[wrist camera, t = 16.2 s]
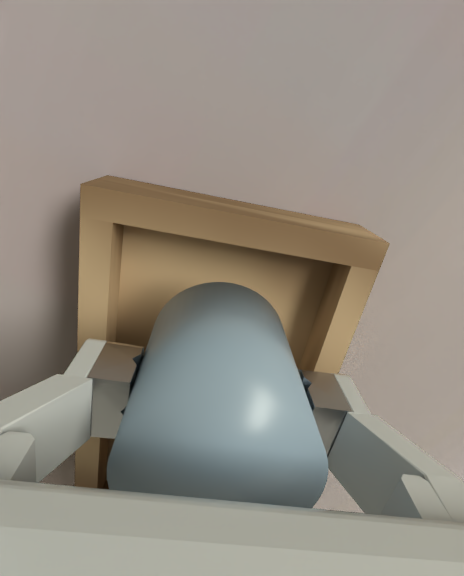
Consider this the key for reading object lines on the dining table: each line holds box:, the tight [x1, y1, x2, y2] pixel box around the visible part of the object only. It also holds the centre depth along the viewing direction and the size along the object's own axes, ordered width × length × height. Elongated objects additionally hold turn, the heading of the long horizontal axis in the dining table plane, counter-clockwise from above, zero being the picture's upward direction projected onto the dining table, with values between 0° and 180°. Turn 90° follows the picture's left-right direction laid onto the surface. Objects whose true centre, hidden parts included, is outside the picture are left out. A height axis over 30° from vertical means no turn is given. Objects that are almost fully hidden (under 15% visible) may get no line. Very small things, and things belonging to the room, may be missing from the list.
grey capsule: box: [107, 282, 328, 508], centre depth 9 cm, size 4×4×5 cm
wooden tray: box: [75, 175, 390, 489], centre depth 15 cm, size 16×10×3 cm, turn 169°
